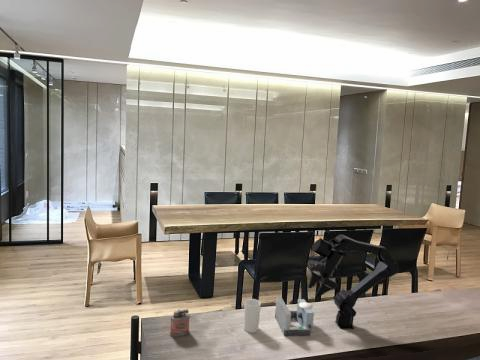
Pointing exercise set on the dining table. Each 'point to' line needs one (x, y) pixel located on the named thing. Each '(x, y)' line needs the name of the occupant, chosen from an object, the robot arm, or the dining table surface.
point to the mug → (251, 315)
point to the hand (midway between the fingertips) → (312, 292)
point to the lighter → (180, 323)
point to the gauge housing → (288, 320)
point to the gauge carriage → (305, 314)
